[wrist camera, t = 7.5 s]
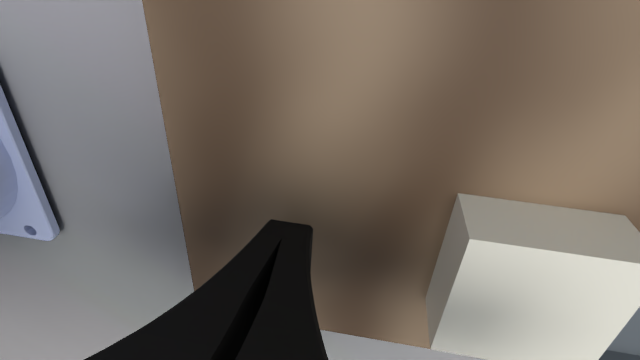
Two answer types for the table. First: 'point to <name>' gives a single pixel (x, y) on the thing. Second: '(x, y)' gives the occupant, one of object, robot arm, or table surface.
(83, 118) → the table surface
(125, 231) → the table surface
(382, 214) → the walnut board
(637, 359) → the tray
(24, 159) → the robot arm
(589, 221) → the cream tile
